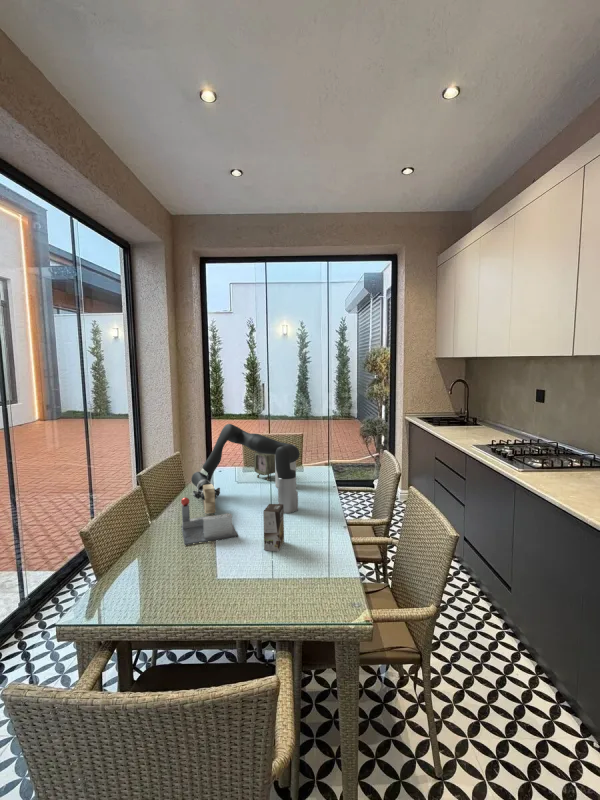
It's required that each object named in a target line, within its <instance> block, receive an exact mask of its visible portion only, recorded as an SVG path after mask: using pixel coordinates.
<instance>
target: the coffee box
mask: <svg viewBox="0 0 600 800" xmlns="http://www.w3.org/2000/svg"><path fill="white" fill-rule="evenodd" d="M284 514H285V513H284V507H283V504H278V503H268V505H267V506H266V507H265V508H264V510H263V550H264V551H270V552H279V551H280V550H281V548H282V546H283V544H284V543H285V523H284V522H285V520H284V519H285V518H284V516H285V515H284Z"/></svg>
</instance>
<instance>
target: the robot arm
mask: <svg viewBox="0 0 600 800" xmlns="http://www.w3.org/2000/svg"><path fill="white" fill-rule="evenodd" d="M227 442H230V443H232V444H236V445H237V444H238V445H243V446H245V447H247V448H248V449H250V450H251V451H252V452H258V453H263V454H274V455H275V461H276V471H277V474H278V488H277V497H278V498H277V501H278V502H277V504H283V507H284V514H292V513H294V511H295V512H298V511H299V501H298V499H299V496H298V495H299V493H298V491H297V472H296V471H295V470H292V469H290V463H292V462H294V461H298V459H299V458H300V450H299V448H298V447H297V446H296V445H295V444H293V443H287V442H282V441H279V440H275V439H273V438H270V437H267V436H265V435H262V434H260V433H251V432H250V433H249V432H248V431H245V430H243V429H241V428H240V427H239V426H236V425H234V424H232V423H227V424H225V425H224V426H223V428H222V429H221V431H220V433H219V435H218V437H217V440H216V442H215V444H214V446H213V447H212V451H211V453H210V454H209V456H208V457H207V459H206V460H205V461H204V463H203V465H202V469H203V471H205V472H206V473H207V475H206V474H204V473H202V472H201V471H195V472H194V473H193V474H192V475H191V483H192V484H193V485H194V486H195V487H196V489H197V490H192V492H193V493H192V494H193V495H192V496H193V497H194V498H196V499H198V500H199V499H201V500H202V501H203V500H205V496H204V494H203V485H207V484H212V483H211V481H212V477H213V476H214V473H215V471H216V469H217V468H218V466H219V465H220V463H221V461H222V456H223V450H224V449H223V448H224V447H225V444H226V443H227ZM294 445H295V446H294ZM214 491H215V499H216V498H217V497H219V496H220V494H221V488H220V487H217V488H216V489H215V488H214ZM297 510H298V511H297ZM291 512H292V513H291Z"/></svg>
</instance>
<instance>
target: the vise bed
mask: <svg viewBox="0 0 600 800" xmlns="http://www.w3.org/2000/svg"><path fill="white" fill-rule="evenodd" d="M225 514H226V515H220V514H218V515H219V516H213V515H211V516H212V517H206V516H204V517H205V518H203V526H199V527H192V528H185V529H183V525H180V528H182V529H181V534H182V533H183V534H182V539H183V543H184V546H185V545H188V544H193V543H199V542H206V543H209V542H208V541H212V542H215V541H216V540H218V541H222V539H223V540H228V539H234V538H238V537H239V533H238V532H237V531H236V528H235V527H234V524H233V516H232V513H229V514H227V513H225ZM188 546H189V545H188Z"/></svg>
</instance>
